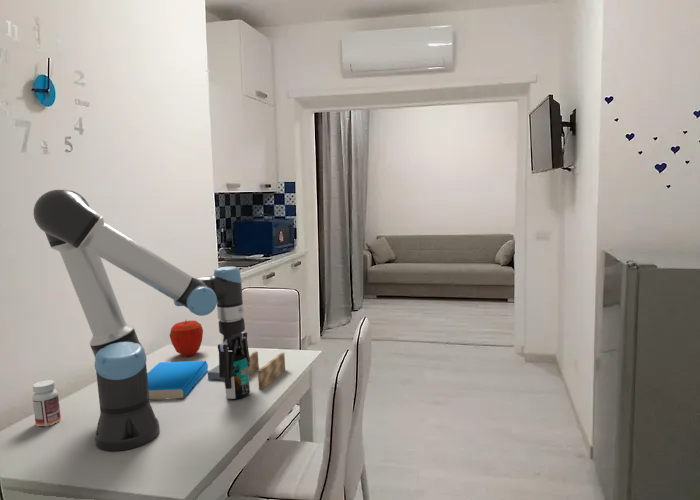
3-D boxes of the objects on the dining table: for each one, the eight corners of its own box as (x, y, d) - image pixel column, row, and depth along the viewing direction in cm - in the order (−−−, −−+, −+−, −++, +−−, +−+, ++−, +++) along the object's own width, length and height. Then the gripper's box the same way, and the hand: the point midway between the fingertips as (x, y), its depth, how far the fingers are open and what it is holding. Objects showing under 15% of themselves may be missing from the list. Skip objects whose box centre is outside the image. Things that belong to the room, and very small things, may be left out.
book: (128, 389, 160) (158, 361, 185) (129, 403, 160) (159, 373, 185) (184, 387, 160) (207, 359, 184) (186, 401, 160) (208, 371, 185)
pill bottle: (63, 416, 151) (59, 378, 150) (57, 425, 145) (52, 385, 144) (39, 419, 149) (35, 380, 148) (32, 429, 143) (27, 388, 142)
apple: (197, 348, 212) (194, 313, 210) (210, 354, 202) (207, 318, 201) (166, 355, 204) (163, 319, 202) (178, 362, 195) (175, 324, 193)
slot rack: (261, 389, 164) (260, 370, 164) (230, 387, 167) (228, 368, 167) (285, 369, 181) (284, 352, 181) (256, 367, 185) (255, 351, 184)
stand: (235, 381, 173) (234, 373, 172) (208, 379, 175) (207, 372, 175) (249, 370, 182) (249, 363, 182) (223, 369, 185) (223, 362, 185)
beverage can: (221, 396, 160) (218, 357, 159) (240, 388, 165) (238, 351, 164) (235, 401, 156) (232, 362, 154) (254, 394, 161) (252, 355, 159)
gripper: (225, 328, 147) (232, 407, 150) (257, 310, 166) (263, 381, 169) (201, 327, 149) (208, 405, 152) (236, 310, 168) (241, 380, 171)
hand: (237, 392), depth 160 cm, fingers closed on beverage can, 7 cm apart
